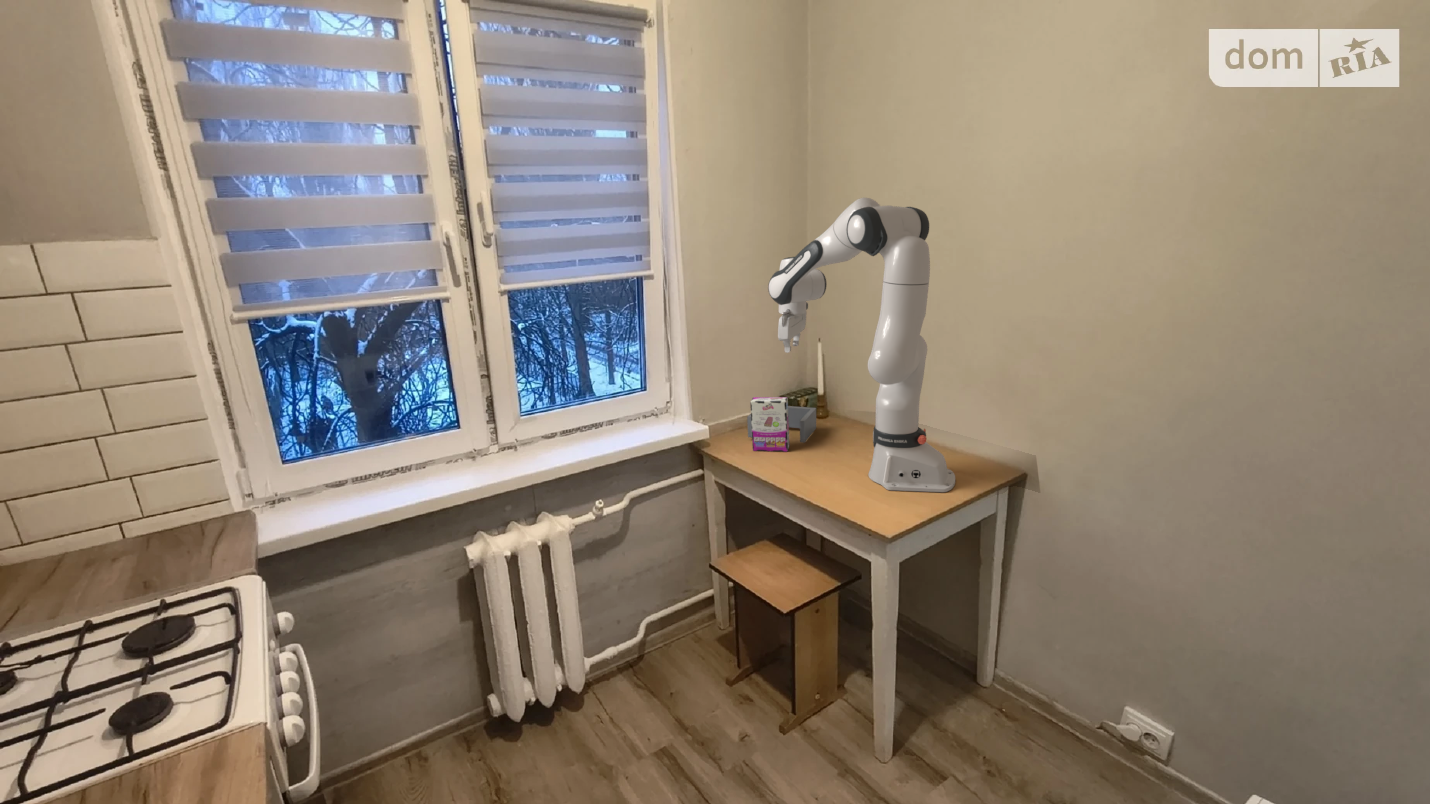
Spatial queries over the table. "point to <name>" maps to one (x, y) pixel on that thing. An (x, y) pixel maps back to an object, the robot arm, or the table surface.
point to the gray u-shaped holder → (797, 421)
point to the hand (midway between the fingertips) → (791, 348)
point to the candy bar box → (770, 424)
